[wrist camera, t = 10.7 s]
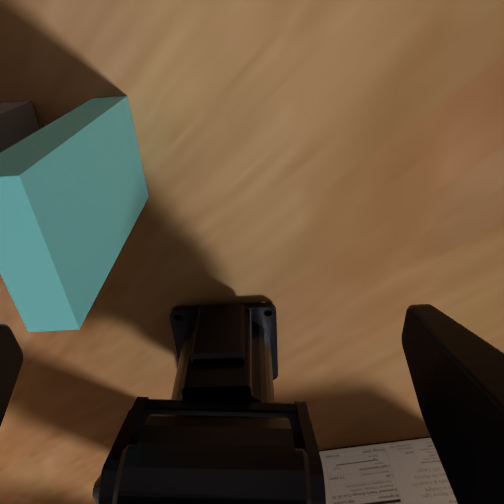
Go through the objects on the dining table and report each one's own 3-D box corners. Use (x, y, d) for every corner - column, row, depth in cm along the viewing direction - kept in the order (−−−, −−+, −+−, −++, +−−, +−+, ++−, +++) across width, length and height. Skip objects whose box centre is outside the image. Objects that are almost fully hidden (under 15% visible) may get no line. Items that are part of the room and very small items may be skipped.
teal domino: (149, 196, 21) (79, 329, 12) (118, 198, 21) (28, 332, 12) (127, 95, 18) (19, 175, 10) (92, 98, 18) (-46, 179, 10)
